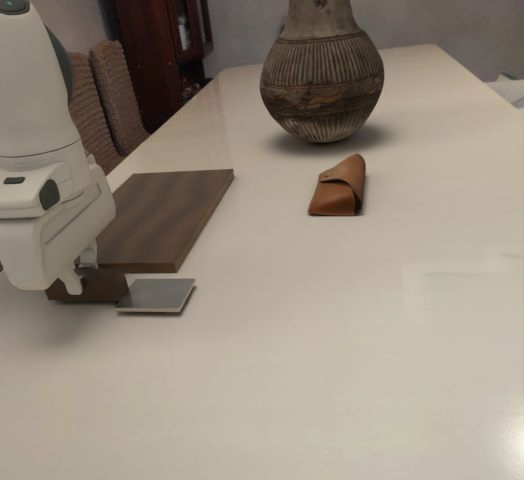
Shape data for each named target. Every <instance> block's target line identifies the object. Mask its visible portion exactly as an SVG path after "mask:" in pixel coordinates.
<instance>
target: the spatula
mask: <svg viewBox="0 0 524 480" xmlns="http://www.w3.org/2000/svg"><path fill="white" fill-rule="evenodd" d="M73 271H74V272H75V273H76V274H77V276H83V277H84V281H85V284H86V288H85V289H84V291H83V292H82V293H81V294H80V295H71V294H69V293H68V291H67V289H66V286H65V283H64V282H63V281H62V280H60V279H59V278H57V279H56V280H55V281H54V282H53V283H52V284H51V285H50V287H48V288H47V289H45V290H44V293H45V295H46V298H47V300H48V301H62V302H63V301H65V302H67V301H68V302H69V301H71V302H73V301H74V302H78V301H80V302H81V301H82V302H93V301H94V302H117V304H116V305H115V306H114V312H130V313H131V312H132V313H133V312H134V313H135V312H137V313H138V312H139V313H142V312H143V313H147V312H148V313H180V312H181V310H182V308H183V306H184V305H185V303H186V301H187V299H188V297H189V295H190V293H191V292H192V289H193V288H194V286H195V284H196V278H134V280H133V281H132V283H131V284H130V285H129V284H128V280H127V277H126V273H124V269H123V268H122V269H73Z"/></svg>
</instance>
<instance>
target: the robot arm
mask: <svg viewBox="0 0 524 480" xmlns="http://www.w3.org/2000/svg"><path fill="white" fill-rule="evenodd" d="M75 86H76V76H75V69H74V65H73V61H72V60H71V57H70V55H69V53H68V51H67V50H66V48H65V46H64V45H63V43H62V42H61V41H60V39H59V38H58V37H57V36H56V35H55V34H54V32H53V31H52V30H51V29H50V28H49V27H48V26H47V25H46V23H45V22H44V21H43V20H42V18H41V16H40V14H39V12H38V10H37V9H36V8H35V6H34V4H33V3H32V2H31V1H30V0H0V264H1V266H2V268H3V271H4V273H5V274H6V277H7V278H8V280H9V282H10V284H12V285H13V286H14V287H16V288H17V289H19V290H23V291H45V289H47V288H48V287H50V285H51V284H52V283H53V282H54V281H55V280H56V279H57V278H59V279H60V280H62V281H63V282H64V283H65V286H66V289H67V291H68V293H69V294H71V295H80V294H81V293H82V292H83V291H84V289H85V288H86V284H85V281H84V277H83V276H77V274H76V273H75V272H74V271H73V269H75V265H74V260H75V259H76V258H77V257H78V256H79V255H80V261H81V264H80V265H79V266H78V268H79V269H98V265H97V262H96V260H97V243H96V240H95V238H96V237H97V236H98V235H99V234H100V233H101V232H102V231H103V230H104V228H105V227H106V226H107V225H108V224H109V223H110V222H111V221H112V220H113V219H114V218H115V216H116V205H115V202H114V199H113V196H112V193H113V192H112V190H111V187H110V184H109V182H108V179H107V177H106V174H105V172H104V170H103V168H102V167H101V166H100V165H99V164H98V163H97V162H96V158H95V156H94V154H92V153H91V152H90V151H89V150H87V149H86V148H84V145H83V141H82V138H81V134H80V132H79V130H78V128H77V127H76V125H75V123H74V121H73V118H72V116H71V114H70V111H69V109H70V105H71V103H72V100H73V97H74V93H75Z"/></svg>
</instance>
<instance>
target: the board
mask: <svg viewBox="0 0 524 480" xmlns="http://www.w3.org/2000/svg"><path fill="white" fill-rule="evenodd" d="M234 178H235V171H234V168H220V169H219V168H217V169H201V170H199V169H198V170H182V171H181V170H180V171H179V170H178V171H160V172H158V171H157V172H141V173H140V172H139V173H132V174H131V175H130V176H129V177H127V179H126V180H124V181H123V183H122V184H120V185H119V186H118V187H117V188H116V189H115V190H114V191H113V192H111V193H112V196H113V199H114V202H115V205H116V216H115V218H114V219H113V220H112V221H111V222H110V223H109V224H108V225H107V226H106V227H105V228H104V230H103V231H102V232H101V233H100V234H99V235H98V236H97V237H96V238H95V240H96V243H97V260H96V262H97V265H98V269H122V268H123V269H124V273H125V274H153V273H154V274H157V273H158V274H159V273H160V274H161V273H163V274H165V273H168V274H169V273H176V274H177V272H178V270H180V268H181V266H182V264H183V262H184V260H185V259H186V257H187V255H188V254H189V252H190V251H191V249H192V247H193V246H194V244H195V243H196V241H197V239H198V238H199V236H200V235H201V233H202V231H203V229H204V228H205V227H206V225H207V223H208V221H209V219H210V218H211V217H212V214H213V213H214V211H215V209H216V208H217V206H218V205H219V203H220V201H221V200H222V198H223V196H224V195H225V193H226V192H227V190H228V188H229V187H230V185H231V183H232V181H233V180H234ZM80 264H81V261H80V255H79V256H78V257H77V258H76V259H75V260H74V265H75V269H79V268H78V266H79V265H80Z"/></svg>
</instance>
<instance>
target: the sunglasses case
mask: <svg viewBox="0 0 524 480" xmlns="http://www.w3.org/2000/svg"><path fill="white" fill-rule="evenodd" d="M366 173H367V163H366V160H365V158H364V157H363V156H362V155H361V154H360V153H359V152H357V153H354V154H351V155H349V156H348V157H346V158H344V159H342V160H341V161H340V162H338V163H337V164H336V165H334V166H333V167H331V168H328V169H326V170H324V171H322V172H320V173H319V174H318V180H317V184H316V187H315V190H314V193H313V196H312V198H311V200H310V202H309V205H308V208H307V213H309V214H310V215H318V216H326V217H354V216H356V215H358V214H359V213H360V212H361V210H362V208H363V203H364V192H365V183H366Z"/></svg>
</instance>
